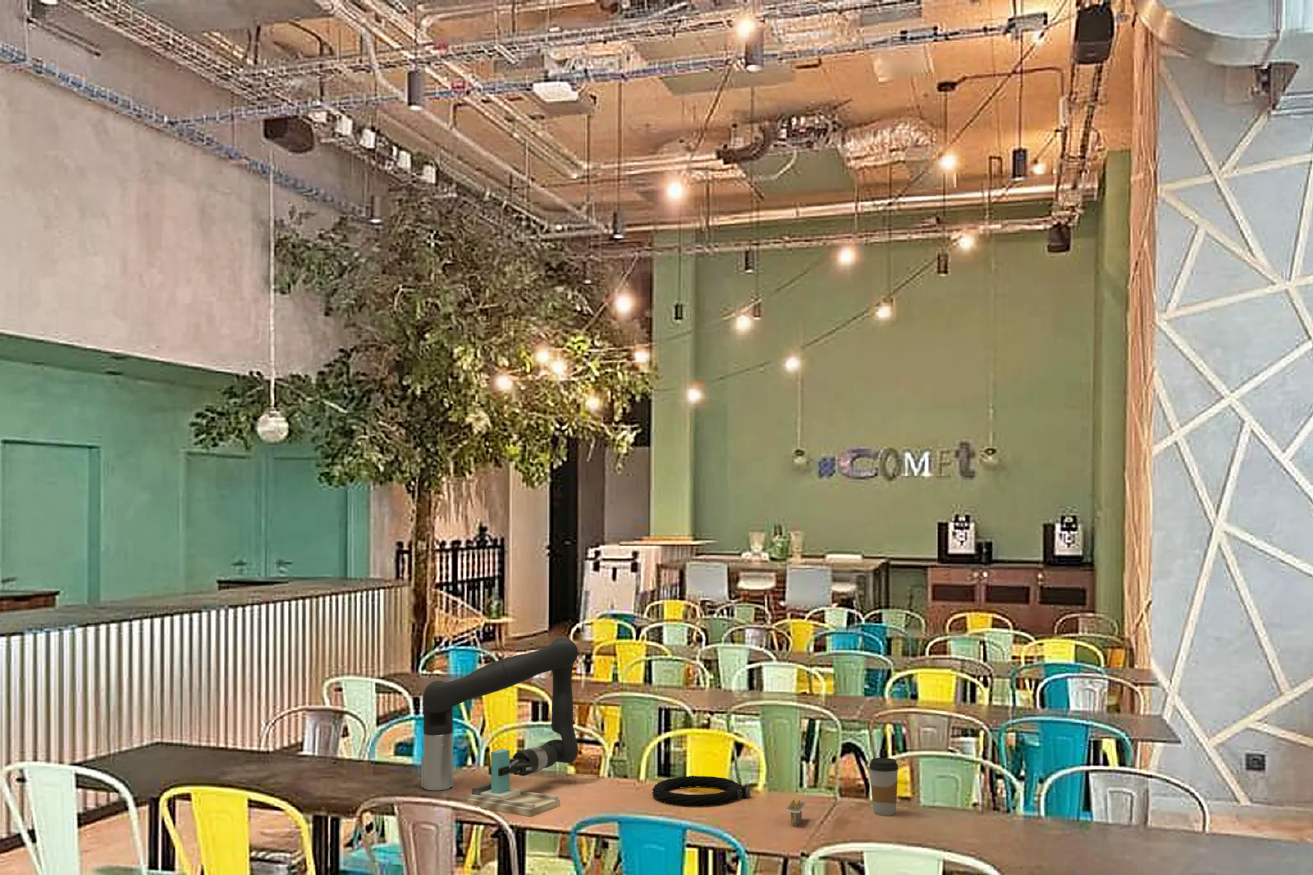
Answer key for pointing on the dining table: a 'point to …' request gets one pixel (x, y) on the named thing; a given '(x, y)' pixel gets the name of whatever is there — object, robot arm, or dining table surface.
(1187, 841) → the dining table surface
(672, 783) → the cable lock
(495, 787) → the post
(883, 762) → the coffee cup
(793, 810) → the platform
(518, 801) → the rail board
